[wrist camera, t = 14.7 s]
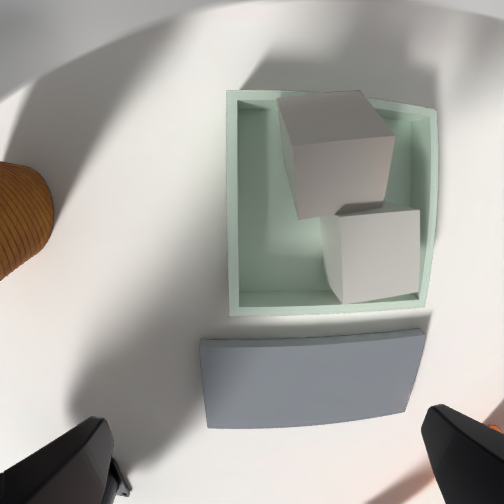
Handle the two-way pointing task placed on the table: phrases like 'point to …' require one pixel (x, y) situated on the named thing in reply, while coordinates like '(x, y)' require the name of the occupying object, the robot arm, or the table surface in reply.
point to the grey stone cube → (334, 152)
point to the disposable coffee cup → (22, 215)
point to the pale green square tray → (308, 230)
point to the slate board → (308, 379)
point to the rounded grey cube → (371, 253)
